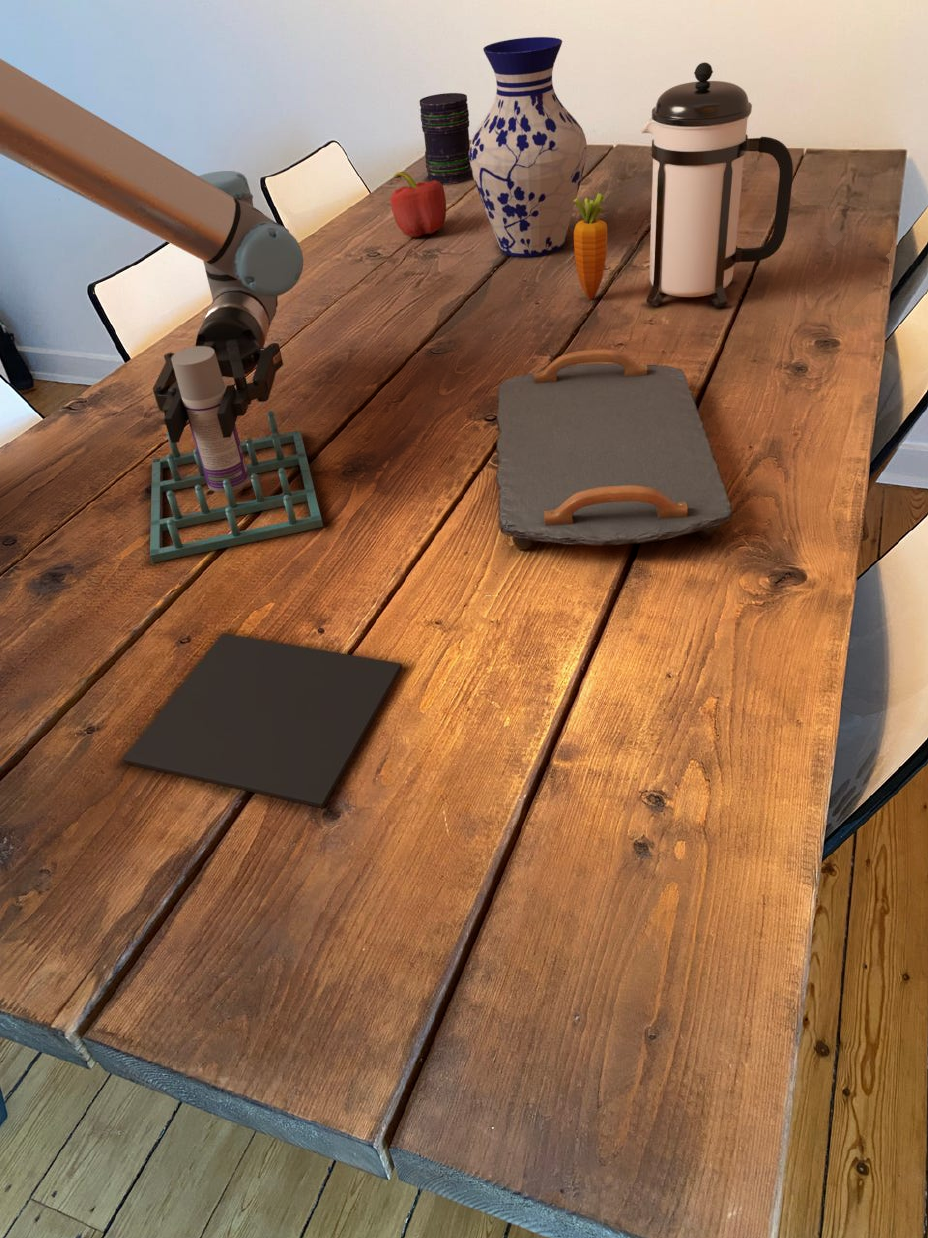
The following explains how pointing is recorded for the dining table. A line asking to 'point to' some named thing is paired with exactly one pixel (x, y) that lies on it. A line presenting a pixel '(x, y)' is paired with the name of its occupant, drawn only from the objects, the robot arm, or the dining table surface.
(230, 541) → the dish rack
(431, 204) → the vegetable
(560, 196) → the vase
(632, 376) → the serving tray
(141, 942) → the dining table surface
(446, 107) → the storage jar
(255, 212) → the robot arm
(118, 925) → the dining table surface
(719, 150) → the coffee press
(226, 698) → the mat
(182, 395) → the container
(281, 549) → the dining table surface
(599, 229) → the carrot
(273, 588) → the dining table surface
